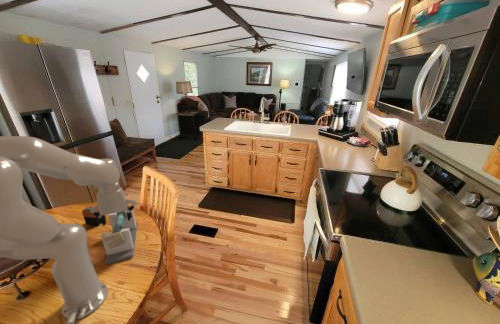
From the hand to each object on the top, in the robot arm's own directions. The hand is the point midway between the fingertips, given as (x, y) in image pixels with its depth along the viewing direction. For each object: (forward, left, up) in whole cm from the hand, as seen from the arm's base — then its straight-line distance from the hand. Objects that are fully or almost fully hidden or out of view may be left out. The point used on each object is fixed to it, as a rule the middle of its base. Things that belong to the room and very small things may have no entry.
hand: (117, 221), depth 92 cm
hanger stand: (+1, 0, -13) cm, 13 cm away
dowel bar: (+1, 0, -6) cm, 6 cm away
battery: (+22, +16, -13) cm, 30 cm away
